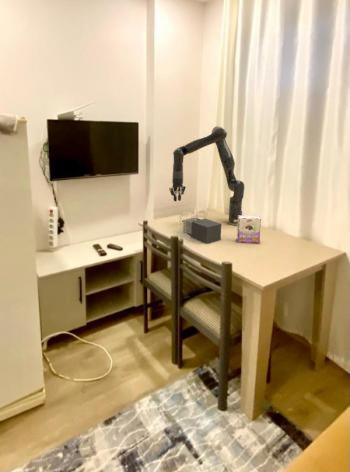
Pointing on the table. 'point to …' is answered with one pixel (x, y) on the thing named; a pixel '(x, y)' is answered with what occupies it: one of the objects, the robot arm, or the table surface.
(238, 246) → the table surface
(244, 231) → the candy box
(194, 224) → the dark grey rectangular block
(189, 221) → the drawer
